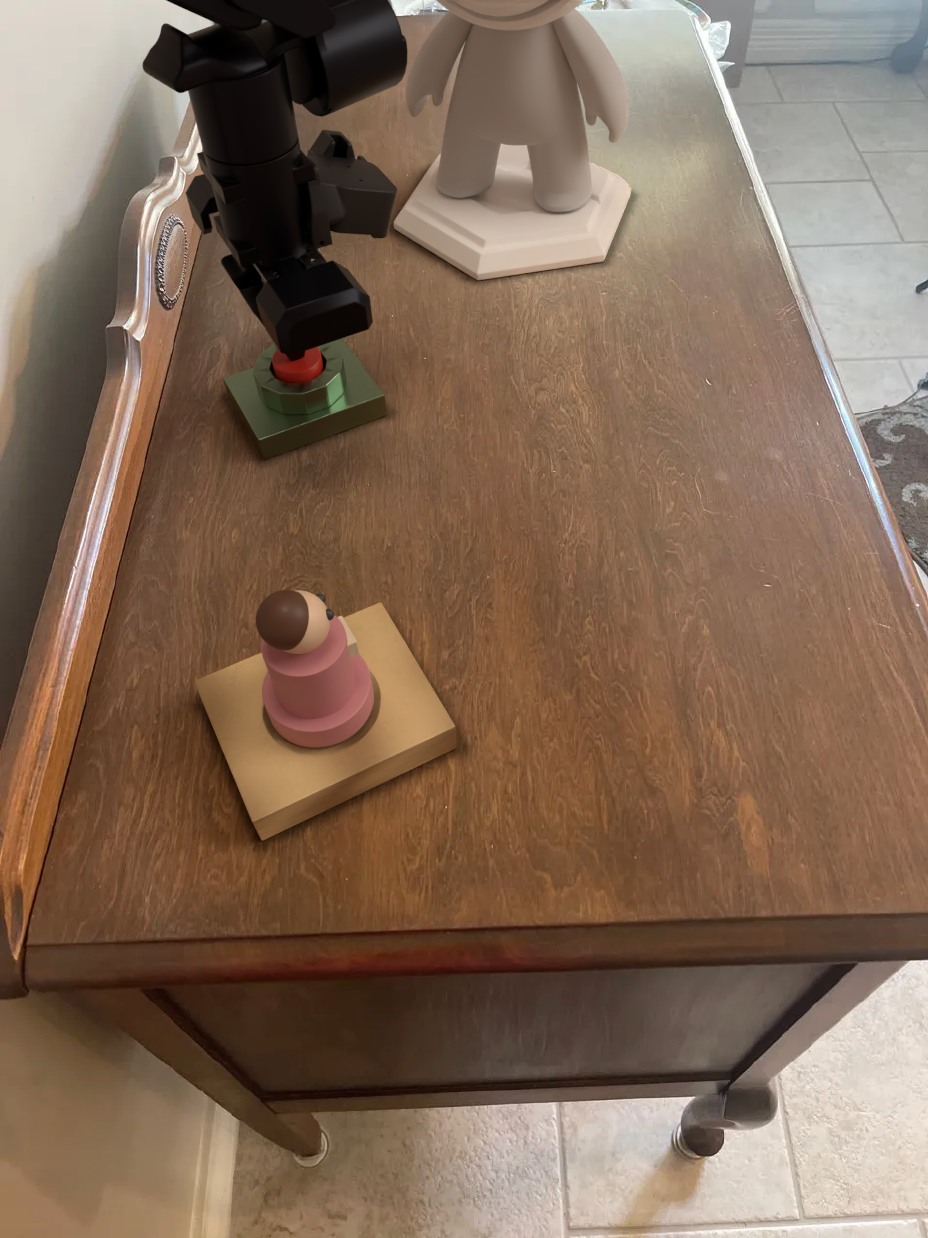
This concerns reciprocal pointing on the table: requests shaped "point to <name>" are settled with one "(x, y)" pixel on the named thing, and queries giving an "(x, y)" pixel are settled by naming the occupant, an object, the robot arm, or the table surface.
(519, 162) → the white cartoon figure
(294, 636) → the doll
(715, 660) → the table surface
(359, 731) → the doll stand
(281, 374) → the button
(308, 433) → the green button box
